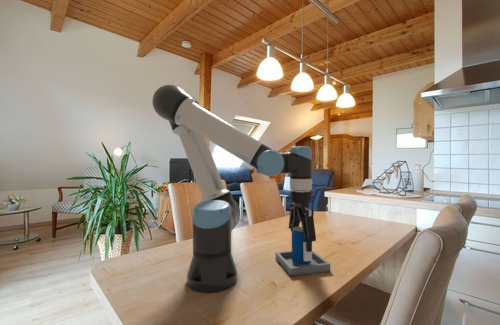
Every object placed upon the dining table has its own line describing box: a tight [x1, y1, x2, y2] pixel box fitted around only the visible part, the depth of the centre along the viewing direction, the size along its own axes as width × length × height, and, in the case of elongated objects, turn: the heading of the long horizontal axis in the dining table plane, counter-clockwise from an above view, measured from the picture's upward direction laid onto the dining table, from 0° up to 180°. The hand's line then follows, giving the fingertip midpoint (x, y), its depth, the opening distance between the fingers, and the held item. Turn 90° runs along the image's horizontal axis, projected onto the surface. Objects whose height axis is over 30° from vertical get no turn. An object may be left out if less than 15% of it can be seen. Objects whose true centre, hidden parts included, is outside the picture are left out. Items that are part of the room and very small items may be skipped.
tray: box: [275, 250, 331, 277], centre depth 84 cm, size 14×14×2 cm
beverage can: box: [291, 226, 311, 266], centre depth 84 cm, size 6×6×12 cm
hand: (301, 254), depth 84 cm, fingers open, 9 cm apart
